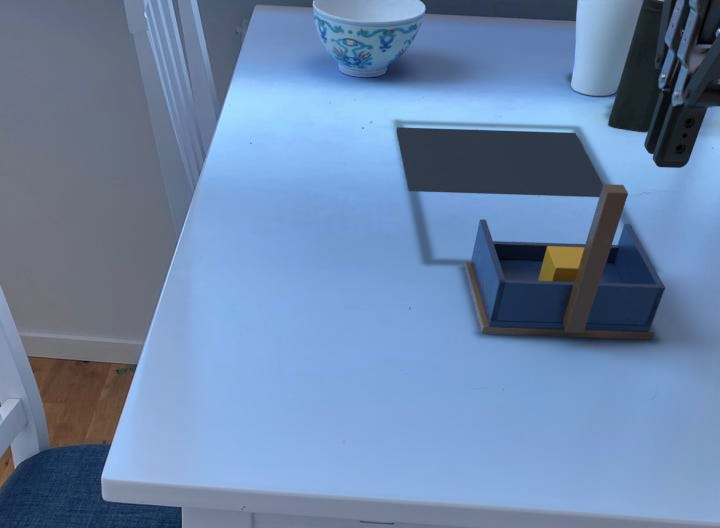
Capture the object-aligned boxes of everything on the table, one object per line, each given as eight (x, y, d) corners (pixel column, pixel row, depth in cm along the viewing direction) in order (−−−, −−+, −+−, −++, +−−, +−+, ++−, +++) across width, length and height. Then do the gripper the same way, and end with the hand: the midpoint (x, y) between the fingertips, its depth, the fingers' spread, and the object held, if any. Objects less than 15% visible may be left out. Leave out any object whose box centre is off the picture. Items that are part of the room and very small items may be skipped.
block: (579, 289, 86) (592, 247, 83) (588, 312, 83) (602, 268, 80) (535, 288, 86) (547, 245, 83) (543, 310, 83) (555, 267, 80)
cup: (646, 101, 124) (684, -20, 114) (571, 104, 123) (603, -19, 113) (613, 74, 131) (646, -43, 121) (542, 76, 130) (569, -41, 120)
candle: (648, 132, 117) (729, -123, 98) (606, 126, 118) (679, -127, 100) (652, 118, 120) (731, -131, 102) (611, 112, 121) (682, -135, 103)
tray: (616, 266, 90) (662, 127, 81) (653, 341, 81) (709, 195, 72) (470, 261, 90) (499, 122, 81) (491, 336, 81) (526, 190, 72)
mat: (574, 136, 116) (575, 132, 116) (650, 278, 92) (651, 274, 92) (396, 130, 116) (396, 127, 116) (425, 271, 92) (426, 267, 92)
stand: (616, 282, 91) (621, 266, 90) (648, 348, 83) (654, 332, 82) (462, 277, 91) (465, 261, 90) (479, 343, 83) (483, 326, 82)
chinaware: (356, 44, 138) (362, -18, 132) (438, 70, 131) (448, 6, 125) (286, 67, 131) (289, 2, 125) (369, 96, 124) (377, 29, 118)
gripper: (901, -151, 46) (752, 204, 59) (800, -194, 56) (690, 122, 68) (749, -155, 46) (633, 200, 59) (672, -197, 56) (586, 119, 69)
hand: (664, 157), depth 64 cm, fingers closed
